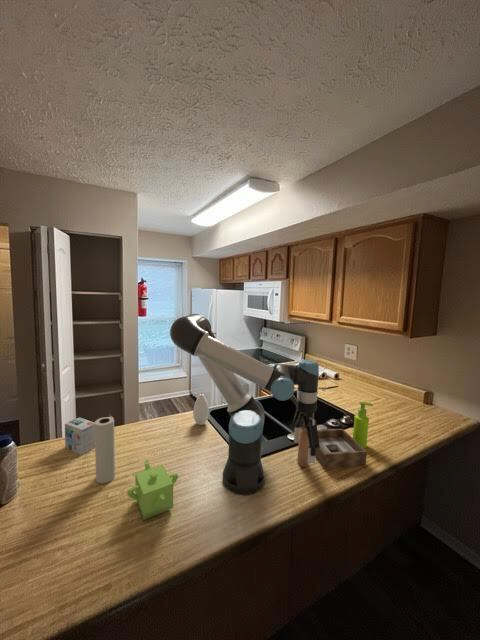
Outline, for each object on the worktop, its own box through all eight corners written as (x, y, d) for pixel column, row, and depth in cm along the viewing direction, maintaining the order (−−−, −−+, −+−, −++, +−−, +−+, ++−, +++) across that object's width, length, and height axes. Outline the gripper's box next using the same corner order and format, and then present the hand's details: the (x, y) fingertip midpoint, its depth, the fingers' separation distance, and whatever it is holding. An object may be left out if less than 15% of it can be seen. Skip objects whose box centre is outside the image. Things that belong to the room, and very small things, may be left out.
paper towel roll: (102, 486, 92) (101, 426, 89) (92, 479, 95) (90, 421, 92) (121, 474, 98) (120, 417, 96) (110, 468, 101) (109, 413, 99)
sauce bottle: (210, 421, 140) (211, 387, 138) (206, 428, 132) (207, 393, 130) (196, 419, 141) (196, 386, 139) (190, 426, 133) (191, 391, 131)
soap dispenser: (370, 449, 120) (374, 406, 118) (353, 447, 121) (357, 404, 119) (366, 442, 126) (370, 401, 123) (351, 440, 127) (354, 399, 125)
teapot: (145, 485, 93) (145, 456, 92) (182, 490, 91) (183, 461, 90) (119, 522, 78) (119, 488, 77) (163, 530, 76) (164, 495, 75)
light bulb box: (64, 448, 112) (63, 423, 111) (80, 440, 118) (79, 416, 117) (81, 455, 108) (80, 429, 107) (96, 447, 114) (96, 422, 113)
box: (323, 469, 105) (324, 454, 105) (304, 443, 123) (305, 430, 122) (365, 465, 108) (367, 451, 108) (341, 440, 126) (342, 428, 125)
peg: (299, 467, 106) (302, 433, 104) (295, 461, 110) (298, 428, 108) (309, 466, 106) (311, 433, 105) (305, 460, 110) (307, 427, 109)
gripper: (332, 414, 94) (328, 471, 96) (303, 388, 118) (300, 434, 120) (311, 415, 92) (308, 473, 95) (286, 388, 117) (284, 435, 119)
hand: (303, 451), depth 107 cm, fingers open, 13 cm apart
